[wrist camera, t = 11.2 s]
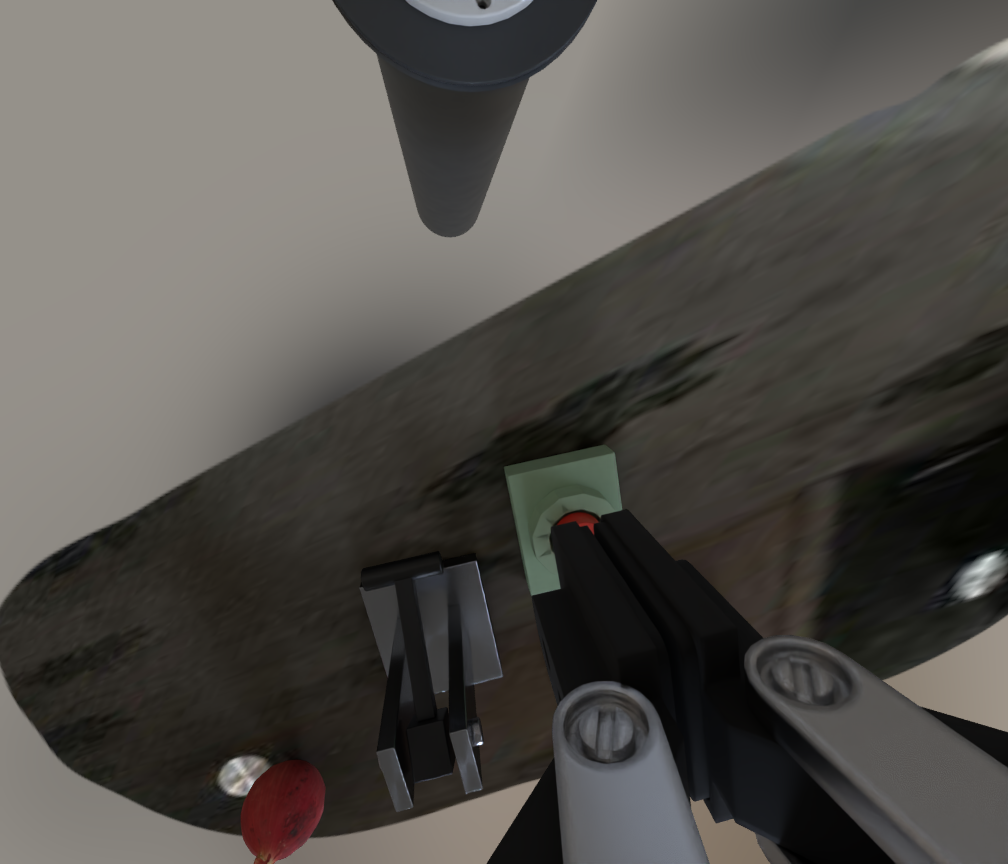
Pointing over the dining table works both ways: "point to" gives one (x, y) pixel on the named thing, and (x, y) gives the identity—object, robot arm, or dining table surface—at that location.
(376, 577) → the press lever
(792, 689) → the robot arm
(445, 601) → the lever bracket
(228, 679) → the dining table surface
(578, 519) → the red button
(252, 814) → the onion
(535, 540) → the button housing
